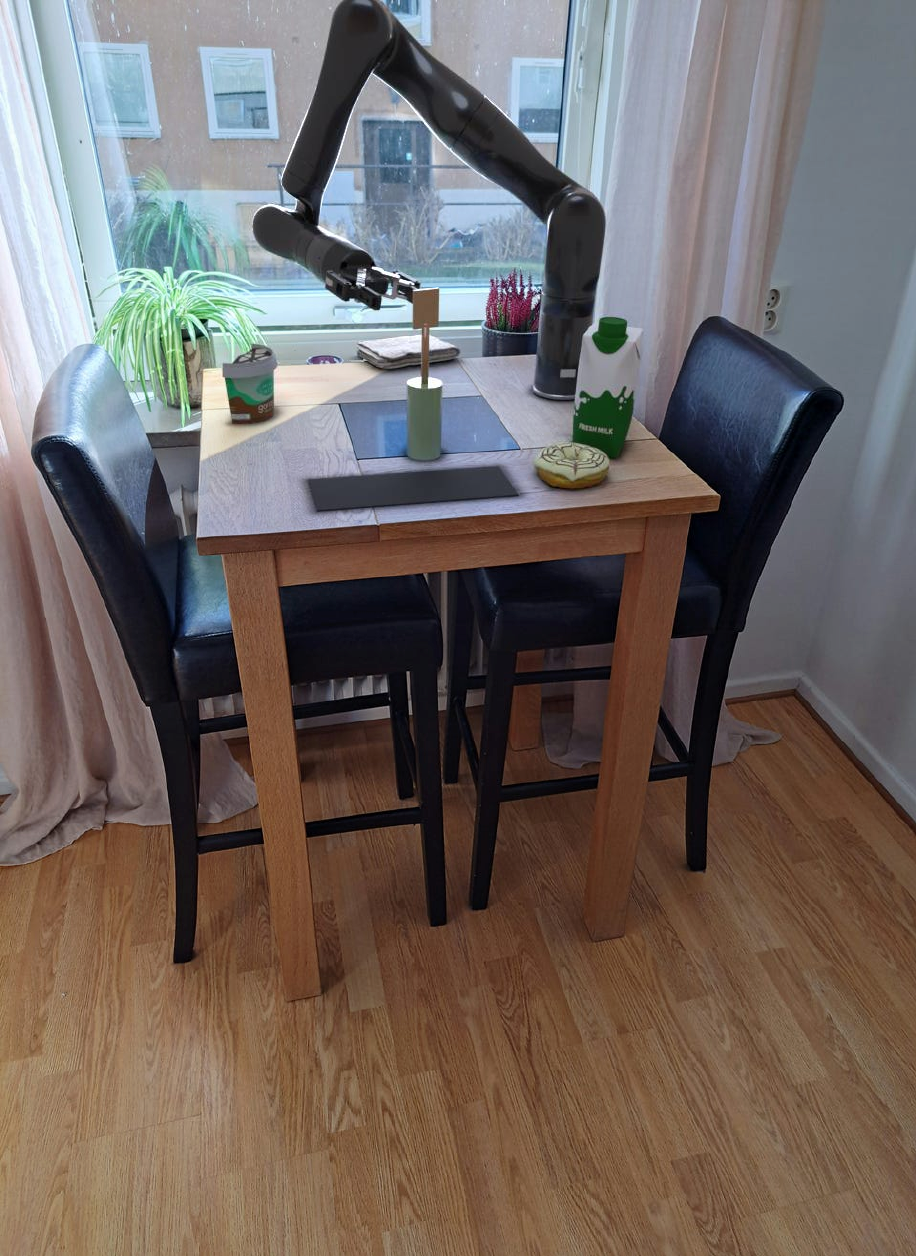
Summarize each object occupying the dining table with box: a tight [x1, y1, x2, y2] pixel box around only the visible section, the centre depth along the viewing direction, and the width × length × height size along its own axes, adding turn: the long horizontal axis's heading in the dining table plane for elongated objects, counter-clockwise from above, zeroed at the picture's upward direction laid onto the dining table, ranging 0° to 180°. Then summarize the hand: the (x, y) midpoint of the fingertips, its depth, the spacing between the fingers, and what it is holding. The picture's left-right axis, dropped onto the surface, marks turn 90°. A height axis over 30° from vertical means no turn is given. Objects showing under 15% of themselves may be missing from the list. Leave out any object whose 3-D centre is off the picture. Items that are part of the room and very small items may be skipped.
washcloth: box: [355, 334, 461, 370], centre depth 174 cm, size 12×18×3 cm, turn 122°
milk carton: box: [572, 316, 644, 460], centre depth 134 cm, size 9×9×20 cm
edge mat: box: [307, 465, 520, 512], centre depth 124 cm, size 28×10×1 cm, turn 104°
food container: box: [221, 342, 279, 425], centre depth 143 cm, size 12×6×10 cm, turn 168°
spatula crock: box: [406, 287, 444, 462], centre depth 128 cm, size 5×5×24 cm
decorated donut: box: [533, 441, 611, 489], centre depth 128 cm, size 10×11×4 cm
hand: (402, 303), depth 130 cm, fingers open, 8 cm apart
